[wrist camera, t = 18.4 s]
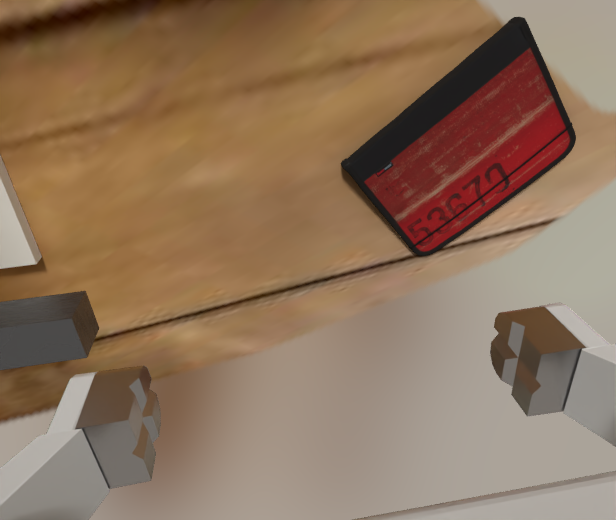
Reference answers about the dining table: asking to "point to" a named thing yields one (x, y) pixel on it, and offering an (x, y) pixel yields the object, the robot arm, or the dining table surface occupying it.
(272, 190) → the dining table surface
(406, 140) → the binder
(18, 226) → the rack
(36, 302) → the grey and gold bar
